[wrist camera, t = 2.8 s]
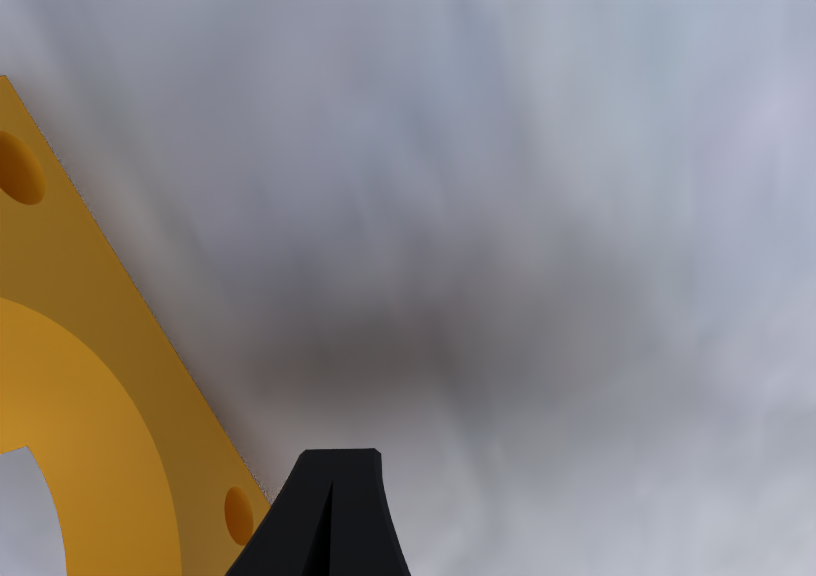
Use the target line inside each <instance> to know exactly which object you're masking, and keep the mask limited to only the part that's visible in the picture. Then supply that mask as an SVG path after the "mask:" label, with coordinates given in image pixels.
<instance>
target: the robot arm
mask: <svg viewBox="0 0 816 576" xmlns="http://www.w3.org/2000/svg"><path fill="white" fill-rule="evenodd" d="M224 576H411V574H410V572H409V569H408V567H407V564H406V561H405V558H404V556H403V553H402V550H401V547H400V544H399V541H398V538H397V535H396V532H395V528H394V525H393V522H392V519H391V515H390V512H389V508H388V504H387V499H386V495H385V491H384V485H383V479H382V460H381V453H380V452H379V451H377V450H376V449H375V448H368V449H312V450H305V451H304V452H303V453H301V454H300V456H299V458H298V460H297V462H296V464H295V466H294V468H293V470H292V471H291V473H290V475H289V477H288V479H287V481H286V482H285V484H284V486H283V488H282V489H281V491H280V493H279V494H278V496H277V498H276V499H275V501H274V503H273V504H272V506H271V508H270V509H269V511H268V513H267V514H266V516H265V517H264V519H263V520H262V522H261V523H260V525H259V526H258V528H257V529H256V531H255V532H254V534H253V536H252V537H251V539H250V540H249V542H248V543H247V545H246V546H245V548H244V549H243V550H242V552H241V553H240V555H239V556H238V557H237V559H236V560H235V562H234V563H233V564H232V566H231V567H230V568H229V570H228V571H227V572H226V574H225V575H224Z"/></svg>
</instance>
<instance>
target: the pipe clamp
mask: <svg viewBox="0 0 816 576" xmlns="http://www.w3.org/2000/svg"><path fill="white" fill-rule="evenodd" d="M25 446H28V448H29V449H30V451H31V452H32V454H33V456H34V458H35V460H36V461H37V463H38V465H39V467H40V469H41V471H42V473H43V475H44V477H45V480H46V482H47V485H48V487H49V489H50V492H51V495H52V498H53V501H54V504H55V507H56V510H57V514H58V518H59V522H60V526H61V530H62V536H63V542H64V549H65V556H66V569H67V576H224V575H225V574H226V572H227V571H228V570H229V568H230V567H231V566H232V564H233V563H234V562H235V560H236V559H237V557H238V556H239V555H240V553H241V552H242V550H243V549H244V548H245V546H246V545H247V543H248V542H249V540H250V539H251V537H252V536H253V534H254V532H255V531H256V529H257V528H258V526H259V525H260V523H261V522H262V520H263V519H264V517H265V516H266V514H267V513H268V511H269V509H270V508H271V506H270V504H269V502H268V501H267V499H266V498H265V496H264V494H263V493H262V491H261V489H260V488H259V486H258V485H257V483H256V481H255V480H254V478H253V476H252V475H251V473H250V472H249V470H248V468H247V467H246V465H245V463H244V462H243V460H242V459H241V457H240V455H239V454H238V452H237V450H236V449H235V447H234V446H233V444H232V442H231V441H230V439H229V437H228V436H227V434H226V433H225V431H224V429H223V428H222V426H221V424H220V423H219V421H218V420H217V418H216V416H215V415H214V413H213V411H212V410H211V408H210V407H209V405H208V403H207V402H206V400H205V398H204V397H203V395H202V394H201V392H200V390H199V389H198V387H197V385H196V384H195V382H194V381H193V379H192V377H191V376H190V374H189V372H188V371H187V369H186V368H185V366H184V364H183V363H182V361H181V359H180V358H179V356H178V355H177V353H176V351H175V350H174V348H173V346H172V345H171V343H170V342H169V340H168V338H167V337H166V335H165V333H164V332H163V330H162V329H161V327H160V325H159V324H158V322H157V320H156V319H155V317H154V316H153V314H152V312H151V311H150V309H149V307H148V306H147V304H146V303H145V301H144V299H143V298H142V296H141V294H140V293H139V291H138V290H137V288H136V286H135V285H134V283H133V281H132V280H131V278H130V277H129V275H128V273H127V272H126V270H125V268H124V267H123V265H122V264H121V262H120V260H119V259H118V257H117V255H116V254H115V252H114V251H113V249H112V247H111V246H110V244H109V242H108V241H107V239H106V238H105V236H104V234H103V233H102V231H101V229H100V228H99V226H98V225H97V223H96V221H95V220H94V218H93V216H92V215H91V213H90V212H89V210H88V208H87V207H86V205H85V203H84V202H83V200H82V199H81V197H80V195H79V194H78V192H77V190H76V189H75V187H74V186H73V184H72V182H71V181H70V179H69V177H68V176H67V174H66V173H65V171H64V169H63V168H62V166H61V164H60V163H59V161H58V160H57V158H56V156H55V155H54V153H53V151H52V150H51V148H50V147H49V145H48V143H47V142H46V140H45V138H44V137H43V135H42V134H41V132H40V130H39V129H38V127H37V125H36V124H35V122H34V121H33V119H32V117H31V116H30V114H29V112H28V111H27V109H26V108H25V106H24V104H23V103H22V101H21V99H20V98H19V96H18V95H17V93H16V91H15V90H14V88H13V86H12V85H11V83H10V82H9V80H8V78H7V77H6V75H4V76H0V454H3V453H6V452H9V451H12V450H15V449H19V448H22V447H25Z"/></svg>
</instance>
